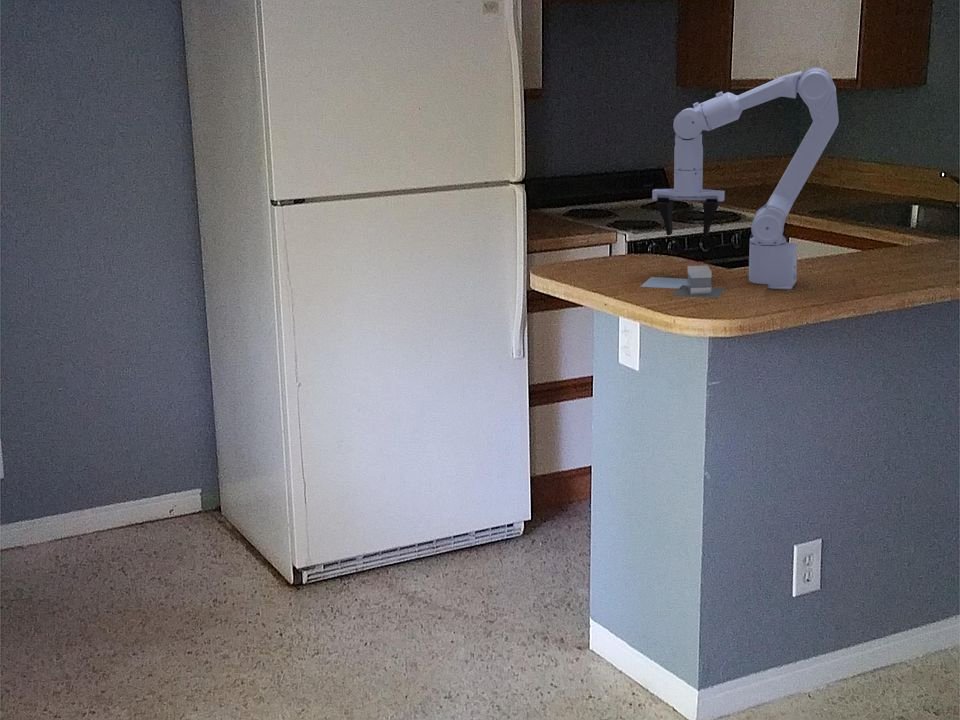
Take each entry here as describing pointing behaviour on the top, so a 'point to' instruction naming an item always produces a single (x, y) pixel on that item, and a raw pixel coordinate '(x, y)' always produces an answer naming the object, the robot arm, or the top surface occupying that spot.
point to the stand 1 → (665, 282)
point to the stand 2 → (685, 292)
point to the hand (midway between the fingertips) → (687, 235)
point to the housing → (699, 280)
